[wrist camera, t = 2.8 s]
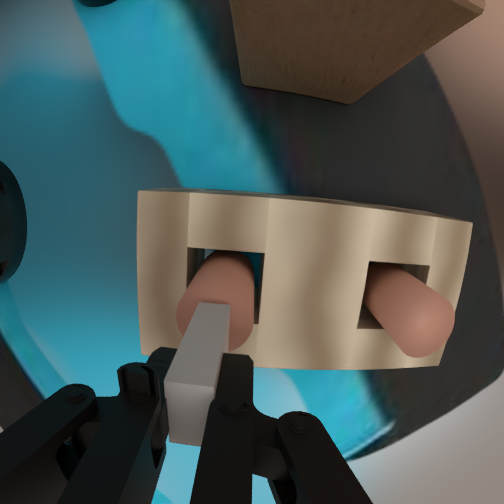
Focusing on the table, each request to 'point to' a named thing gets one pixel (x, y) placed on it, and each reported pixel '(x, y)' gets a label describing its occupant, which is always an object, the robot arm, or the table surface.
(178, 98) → the table surface
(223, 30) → the table surface
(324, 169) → the table surface
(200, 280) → the peg
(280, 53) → the wooden block
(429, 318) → the peg
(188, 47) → the table surface
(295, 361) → the socket board
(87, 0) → the water bottle
